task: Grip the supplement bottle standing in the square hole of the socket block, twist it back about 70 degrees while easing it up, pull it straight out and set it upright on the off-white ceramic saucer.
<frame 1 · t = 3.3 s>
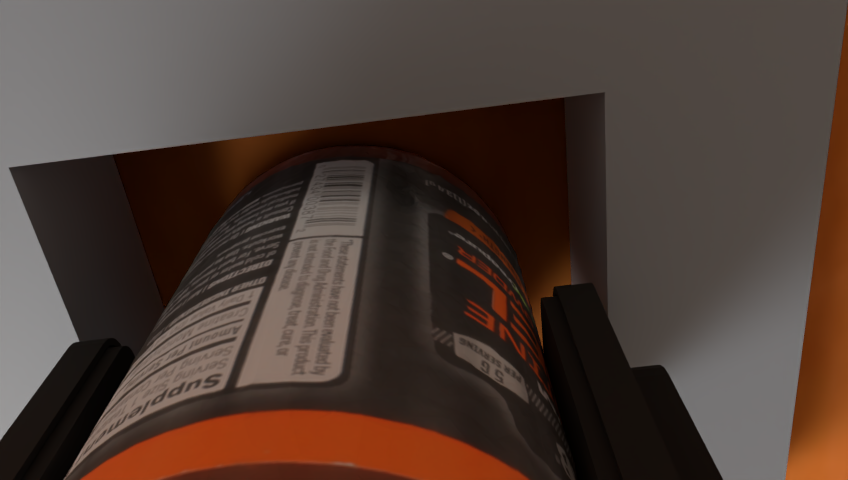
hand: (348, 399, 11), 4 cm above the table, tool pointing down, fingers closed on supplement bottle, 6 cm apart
socket block: (363, 279, 14), on the table
supplement bottle: (364, 273, 14), resting in socket block, touching gripper
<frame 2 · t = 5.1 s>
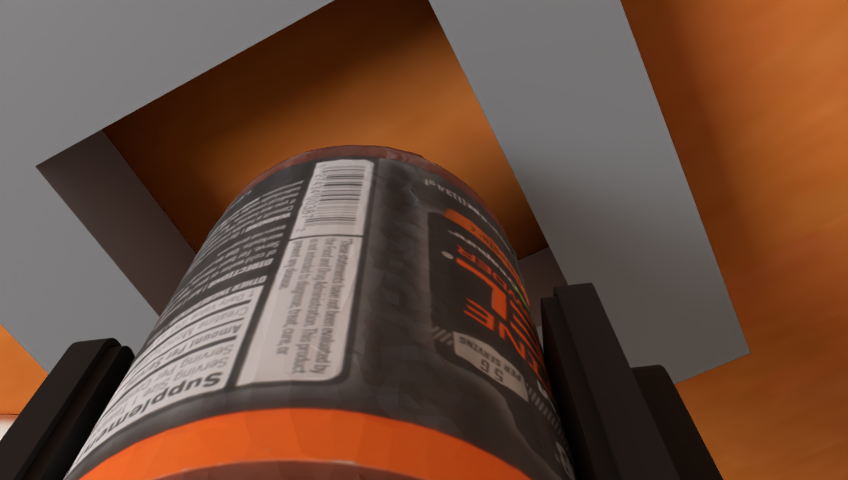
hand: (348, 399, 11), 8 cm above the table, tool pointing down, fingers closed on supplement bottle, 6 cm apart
socket block: (335, 184, 17), on the table
supplement bottle: (364, 273, 14), point 4 cm above the table, touching gripper
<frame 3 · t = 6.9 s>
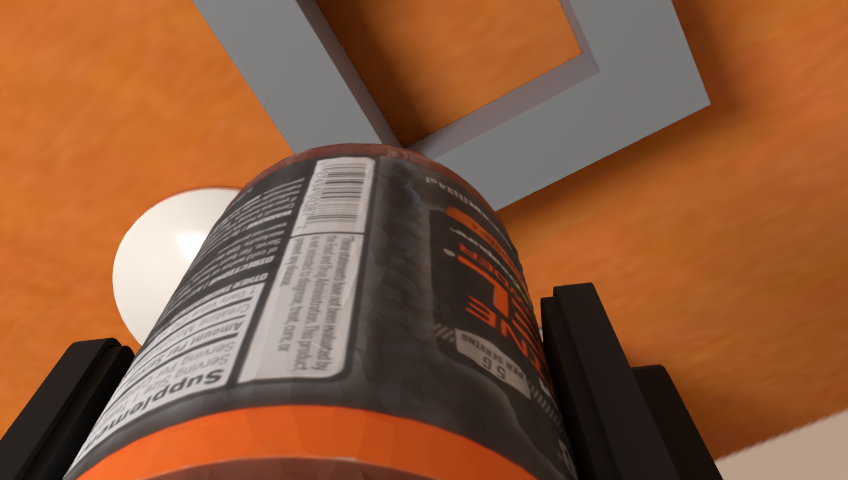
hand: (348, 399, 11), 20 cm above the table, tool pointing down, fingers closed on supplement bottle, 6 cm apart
socket block: (442, 11, 27), on the table
supplement bottle: (365, 271, 14), point 16 cm above the table, touching gripper
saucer: (231, 289, 32), on the table
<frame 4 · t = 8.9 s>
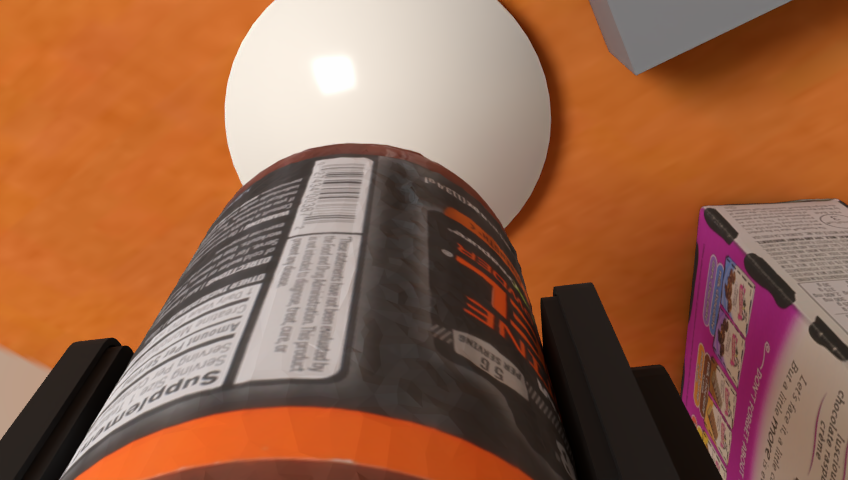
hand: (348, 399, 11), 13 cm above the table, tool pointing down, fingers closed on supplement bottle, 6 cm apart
supplement bottle: (363, 271, 14), point 10 cm above the table, touching gripper
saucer: (389, 125, 23), on the table
candy bar box: (748, 330, 27), on the table
when the fingers open (5 cm above the table, at t = 10.7 s): supplement bottle drops 1 cm, resting on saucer.
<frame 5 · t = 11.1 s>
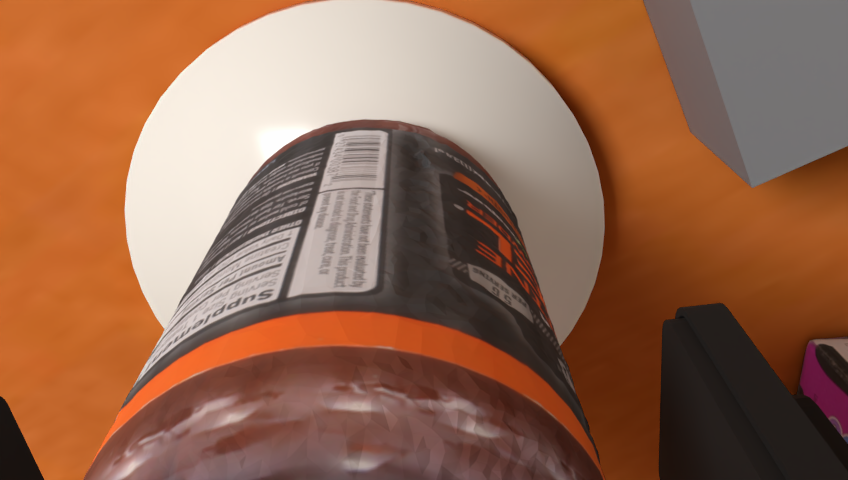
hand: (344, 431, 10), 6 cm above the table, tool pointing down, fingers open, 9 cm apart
supplement bottle: (375, 241, 15), resting on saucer
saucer: (368, 235, 16), on the table
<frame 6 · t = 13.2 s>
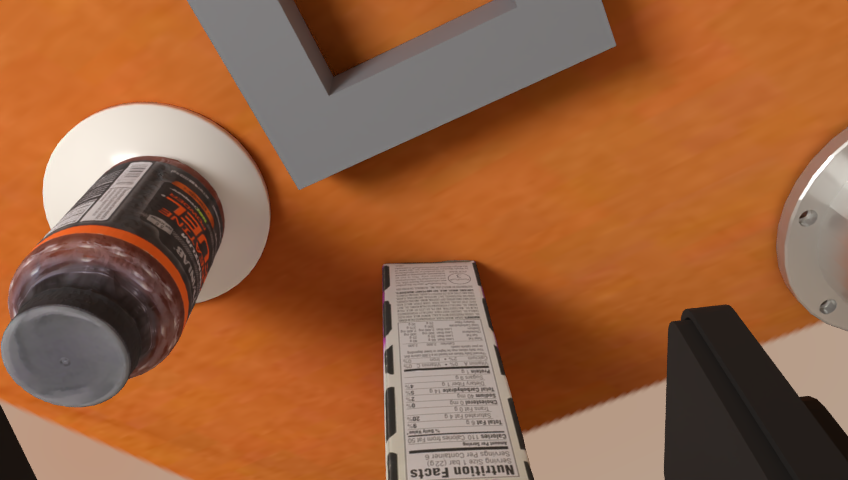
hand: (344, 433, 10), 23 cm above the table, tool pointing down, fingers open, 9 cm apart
supplement bottle: (163, 209, 33), resting on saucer
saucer: (161, 207, 33), on the table
candy bar box: (433, 346, 38), on the table
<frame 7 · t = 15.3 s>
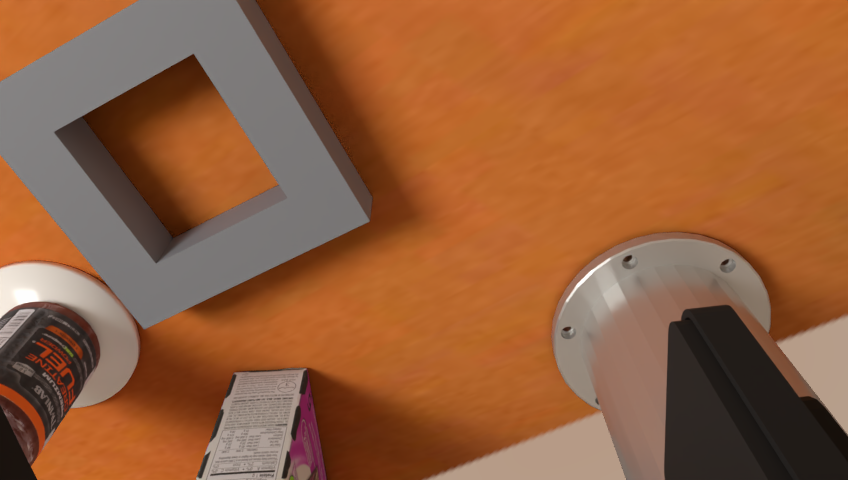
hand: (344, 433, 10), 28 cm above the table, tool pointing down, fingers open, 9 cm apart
socket block: (190, 145, 38), on the table
supplement bottle: (54, 337, 42), resting on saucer
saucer: (54, 334, 43), on the table
candy bar box: (286, 433, 47), on the table
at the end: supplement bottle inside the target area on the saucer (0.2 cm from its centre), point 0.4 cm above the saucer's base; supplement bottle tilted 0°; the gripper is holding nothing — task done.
